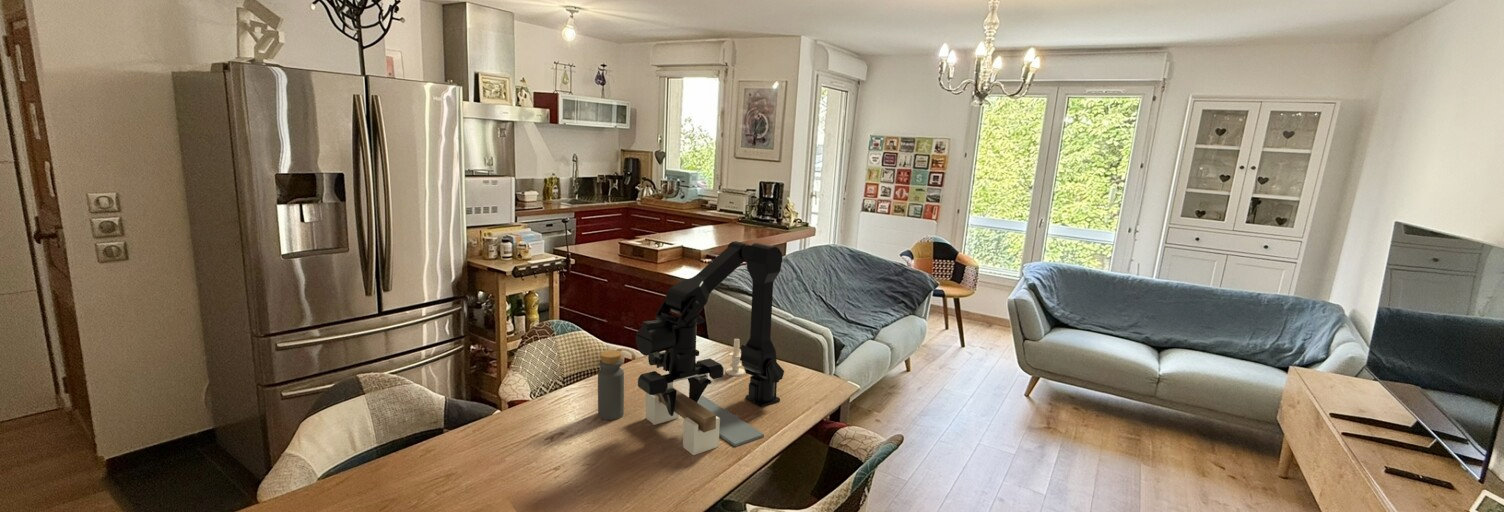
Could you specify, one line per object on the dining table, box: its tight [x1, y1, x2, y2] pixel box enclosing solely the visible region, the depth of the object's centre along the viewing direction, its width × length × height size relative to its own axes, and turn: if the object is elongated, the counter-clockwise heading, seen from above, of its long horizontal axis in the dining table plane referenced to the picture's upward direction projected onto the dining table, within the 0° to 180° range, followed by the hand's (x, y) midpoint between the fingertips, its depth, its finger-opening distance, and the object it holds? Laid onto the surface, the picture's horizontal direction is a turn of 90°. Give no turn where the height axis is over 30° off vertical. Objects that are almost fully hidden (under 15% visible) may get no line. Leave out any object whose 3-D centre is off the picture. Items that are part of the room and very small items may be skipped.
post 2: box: [682, 416, 720, 456], centre depth 127 cm, size 6×4×6 cm, turn 129°
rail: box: [656, 386, 716, 432], centre depth 133 cm, size 3×22×3 cm, turn 39°
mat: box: [697, 395, 765, 448], centre depth 140 cm, size 8×24×1 cm, turn 39°
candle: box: [725, 338, 746, 377], centre depth 168 cm, size 5×5×10 cm
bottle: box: [597, 349, 625, 421], centre depth 139 cm, size 6×6×15 cm
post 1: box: [645, 392, 680, 426], centre depth 139 cm, size 6×4×6 cm, turn 129°
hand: (681, 412), depth 133 cm, fingers open, 5 cm apart
